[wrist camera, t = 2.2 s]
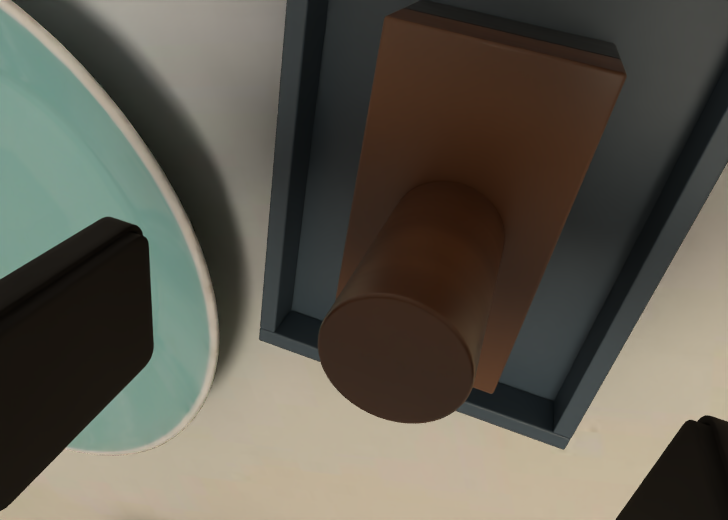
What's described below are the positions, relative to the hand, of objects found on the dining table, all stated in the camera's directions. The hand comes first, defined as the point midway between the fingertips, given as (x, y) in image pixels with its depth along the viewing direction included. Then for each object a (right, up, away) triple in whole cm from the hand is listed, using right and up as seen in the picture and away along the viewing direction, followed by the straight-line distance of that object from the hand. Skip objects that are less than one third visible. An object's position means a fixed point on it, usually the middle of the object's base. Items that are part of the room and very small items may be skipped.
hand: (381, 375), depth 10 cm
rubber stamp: (+3, +4, +7) cm, 9 cm away
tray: (+3, +5, +7) cm, 9 cm away
